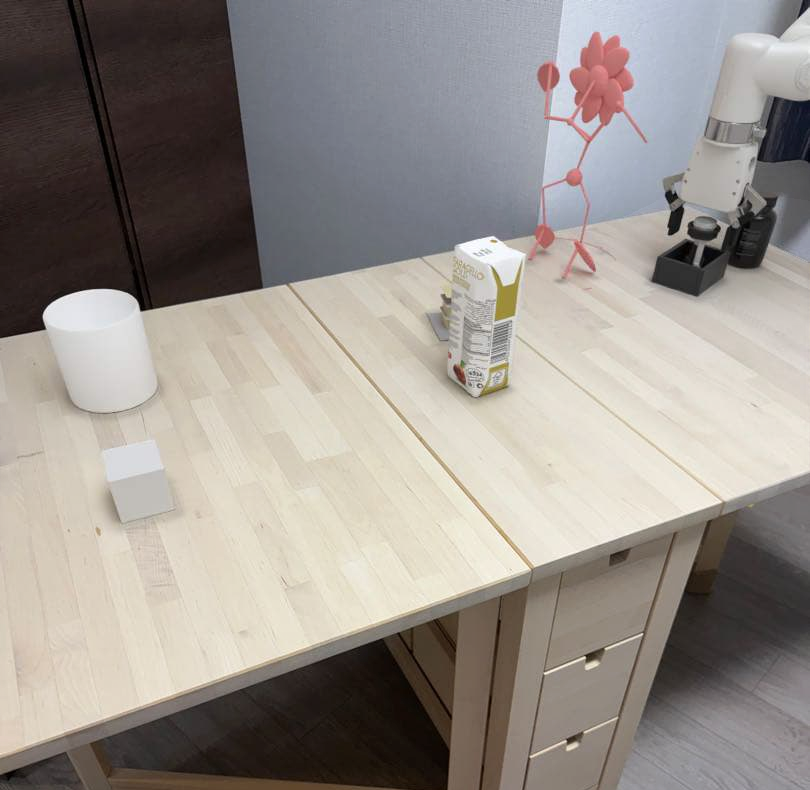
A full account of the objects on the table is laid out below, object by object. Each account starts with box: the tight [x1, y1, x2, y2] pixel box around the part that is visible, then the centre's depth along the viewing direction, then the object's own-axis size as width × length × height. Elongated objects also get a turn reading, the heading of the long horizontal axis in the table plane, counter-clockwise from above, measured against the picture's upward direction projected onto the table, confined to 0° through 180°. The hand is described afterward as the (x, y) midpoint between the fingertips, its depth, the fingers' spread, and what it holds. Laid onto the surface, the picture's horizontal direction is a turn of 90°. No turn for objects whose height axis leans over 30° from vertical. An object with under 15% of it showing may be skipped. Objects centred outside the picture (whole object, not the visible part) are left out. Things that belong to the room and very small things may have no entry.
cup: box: [42, 288, 159, 414], centre depth 99 cm, size 12×12×12 cm
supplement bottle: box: [726, 188, 779, 269], centre depth 133 cm, size 7×7×12 cm
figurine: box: [528, 31, 648, 291], centre depth 124 cm, size 15×26×35 cm, turn 33°
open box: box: [651, 238, 731, 297], centre depth 130 cm, size 9×11×4 cm
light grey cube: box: [100, 438, 176, 524], centre depth 84 cm, size 6×6×6 cm
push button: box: [683, 215, 722, 268], centre depth 128 cm, size 7×5×10 cm
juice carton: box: [447, 235, 527, 398], centre depth 100 cm, size 8×9×19 cm
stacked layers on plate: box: [426, 284, 452, 341], centre depth 116 cm, size 10×9×6 cm
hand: (699, 241), depth 127 cm, fingers open, 9 cm apart
